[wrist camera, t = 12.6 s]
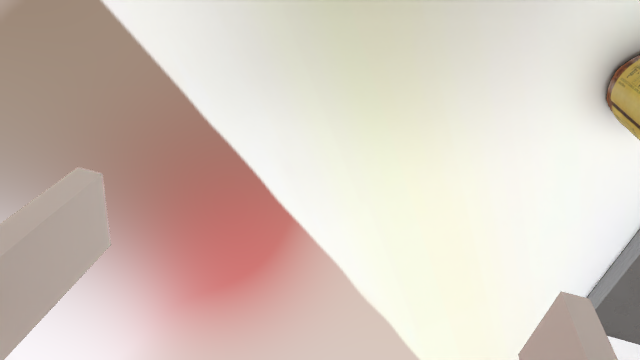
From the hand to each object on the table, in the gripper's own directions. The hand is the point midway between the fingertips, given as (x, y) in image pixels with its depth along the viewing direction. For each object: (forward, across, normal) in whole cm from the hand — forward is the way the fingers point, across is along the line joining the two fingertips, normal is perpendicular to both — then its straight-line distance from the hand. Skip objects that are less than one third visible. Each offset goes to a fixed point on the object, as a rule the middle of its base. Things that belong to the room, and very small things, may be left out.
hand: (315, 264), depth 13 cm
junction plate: (+28, +37, -15) cm, 49 cm away
